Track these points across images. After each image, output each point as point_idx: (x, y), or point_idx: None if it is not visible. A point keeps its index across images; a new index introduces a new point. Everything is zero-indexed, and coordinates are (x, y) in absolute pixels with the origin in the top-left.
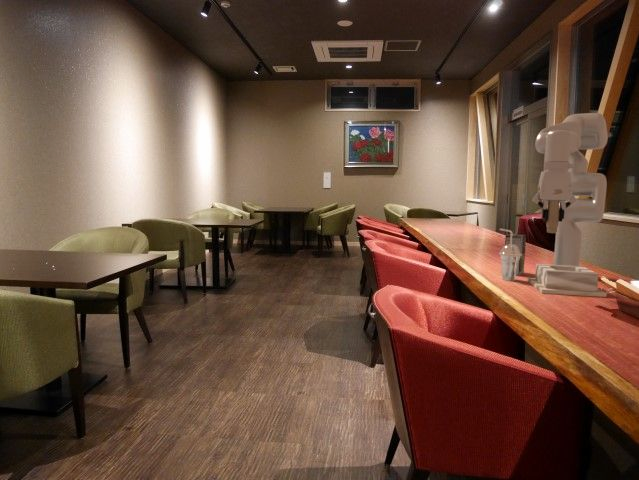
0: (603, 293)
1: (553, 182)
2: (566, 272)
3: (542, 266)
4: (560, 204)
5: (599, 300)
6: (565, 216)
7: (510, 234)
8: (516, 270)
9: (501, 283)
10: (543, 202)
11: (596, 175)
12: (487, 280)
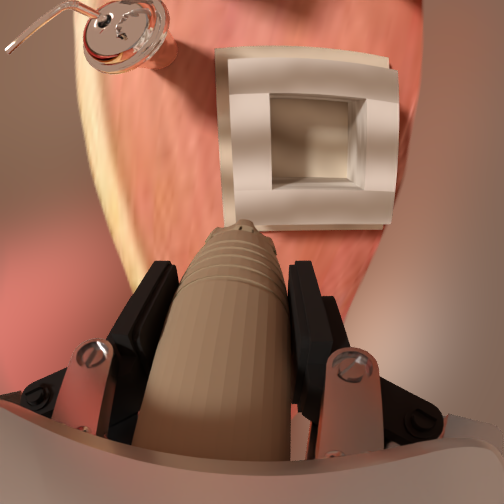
0: (376, 229)
1: None
2: (298, 224)
3: (239, 118)
4: (324, 424)
5: (346, 267)
6: None
7: None
8: (170, 49)
9: (132, 125)
10: (72, 419)
11: None
12: (101, 98)
